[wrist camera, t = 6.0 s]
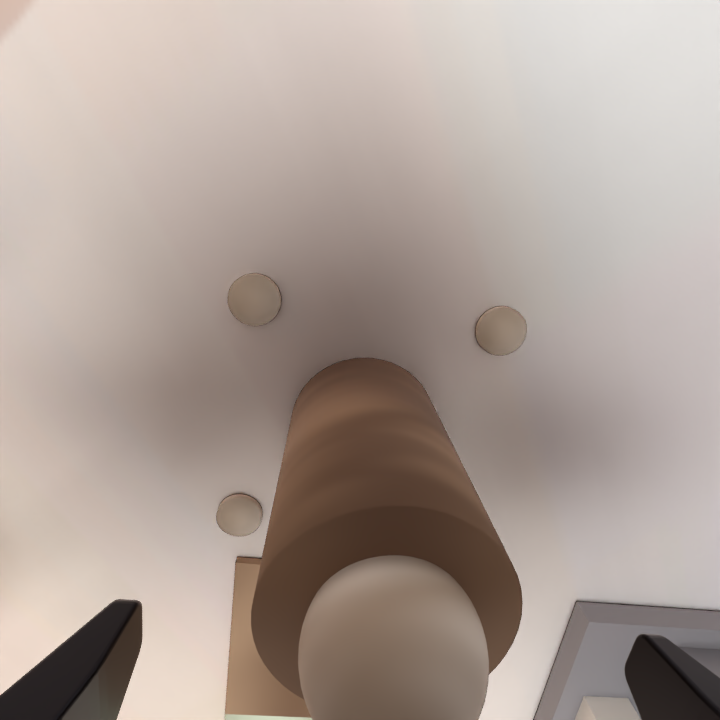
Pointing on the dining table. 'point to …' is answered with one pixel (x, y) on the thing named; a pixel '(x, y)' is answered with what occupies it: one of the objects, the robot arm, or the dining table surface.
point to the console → (618, 657)
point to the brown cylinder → (380, 558)
